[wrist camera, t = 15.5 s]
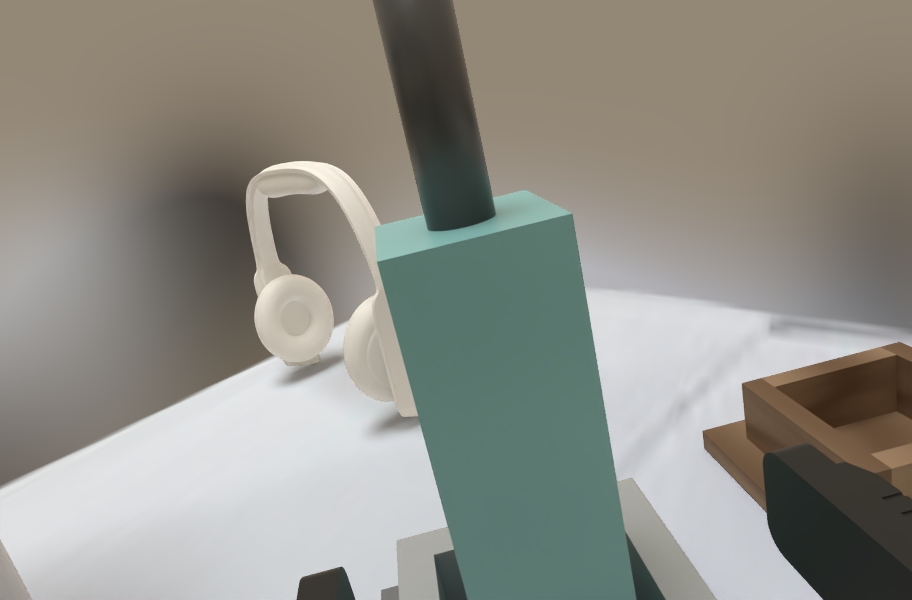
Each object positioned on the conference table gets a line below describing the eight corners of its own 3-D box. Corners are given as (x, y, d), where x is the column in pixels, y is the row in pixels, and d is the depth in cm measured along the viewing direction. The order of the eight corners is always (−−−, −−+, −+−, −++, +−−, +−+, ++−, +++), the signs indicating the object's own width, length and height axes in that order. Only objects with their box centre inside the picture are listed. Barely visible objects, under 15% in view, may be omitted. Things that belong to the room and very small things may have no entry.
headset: (265, 382, 55) (195, 180, 50) (335, 349, 59) (277, 159, 54) (390, 450, 40) (307, 166, 34) (473, 399, 44) (411, 138, 38)
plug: (526, 817, 17) (285, -79, 11) (498, 690, 21) (307, -28, 14) (665, 775, 18) (515, -128, 11) (612, 657, 21) (478, -66, 15)
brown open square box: (858, 606, 22) (855, 512, 21) (704, 447, 33) (696, 378, 31) (1147, 525, 23) (1160, 428, 22) (904, 394, 33) (904, 324, 32)
